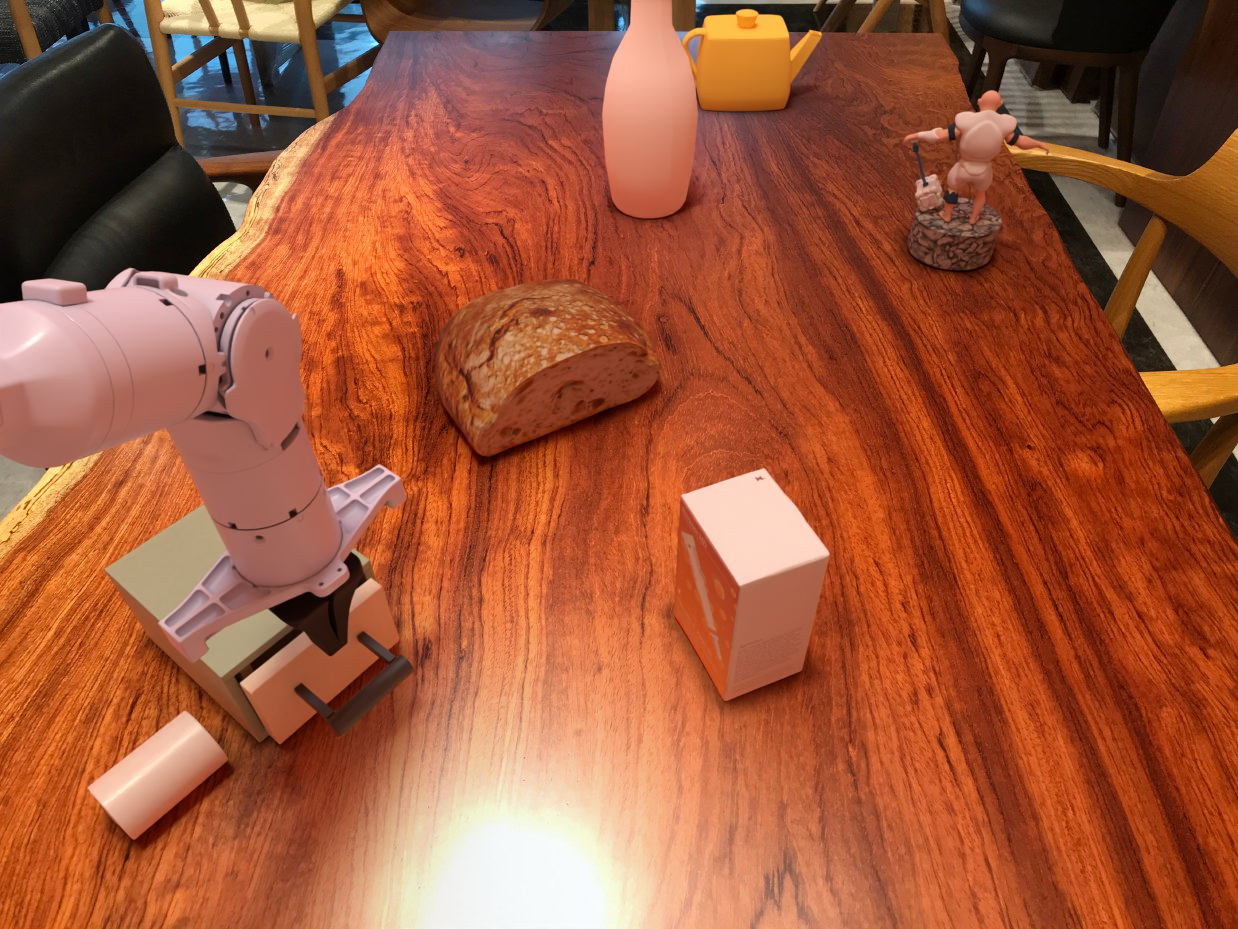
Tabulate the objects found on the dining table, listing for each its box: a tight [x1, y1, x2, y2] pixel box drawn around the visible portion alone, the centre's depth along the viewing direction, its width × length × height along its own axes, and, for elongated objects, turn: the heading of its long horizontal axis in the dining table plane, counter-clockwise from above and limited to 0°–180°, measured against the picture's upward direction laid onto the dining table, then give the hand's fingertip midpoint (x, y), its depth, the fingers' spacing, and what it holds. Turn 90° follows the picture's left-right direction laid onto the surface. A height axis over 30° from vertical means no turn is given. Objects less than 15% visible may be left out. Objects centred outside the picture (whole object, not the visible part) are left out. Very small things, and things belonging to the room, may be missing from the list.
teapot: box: [681, 8, 823, 112], centre depth 128 cm, size 20×12×12 cm, turn 89°
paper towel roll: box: [87, 710, 229, 841], centre depth 54 cm, size 4×7×4 cm
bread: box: [433, 278, 662, 457], centre depth 81 cm, size 20×18×10 cm
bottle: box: [601, 0, 699, 219], centre depth 100 cm, size 11×11×25 cm
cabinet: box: [103, 503, 378, 743], centre depth 61 cm, size 13×11×8 cm
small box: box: [673, 467, 831, 702], centre depth 58 cm, size 8×6×13 cm
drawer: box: [234, 578, 415, 745], centre depth 59 cm, size 17×10×6 cm, turn 52°
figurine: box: [903, 90, 1050, 271], centre depth 94 cm, size 15×9×18 cm, turn 78°
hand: (329, 641), depth 54 cm, fingers closed
